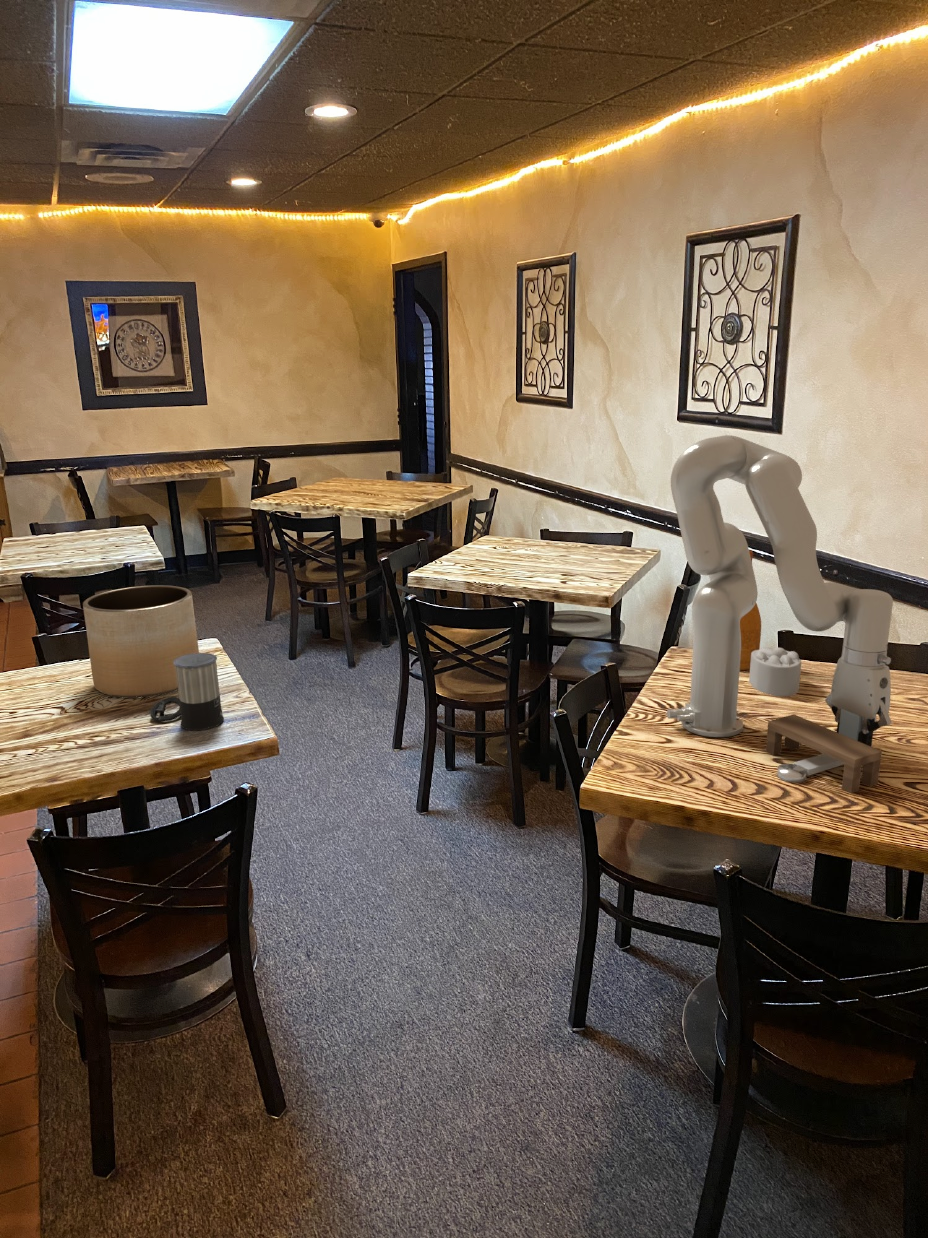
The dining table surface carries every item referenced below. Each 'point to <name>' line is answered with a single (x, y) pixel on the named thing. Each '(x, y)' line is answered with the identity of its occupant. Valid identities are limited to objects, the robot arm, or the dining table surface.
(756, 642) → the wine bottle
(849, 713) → the grey block
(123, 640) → the beige ceramic crock
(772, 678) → the lumpy-topped squat cylinder
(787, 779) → the token
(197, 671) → the milk frother
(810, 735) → the stand
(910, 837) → the dining table surface
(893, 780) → the dining table surface
